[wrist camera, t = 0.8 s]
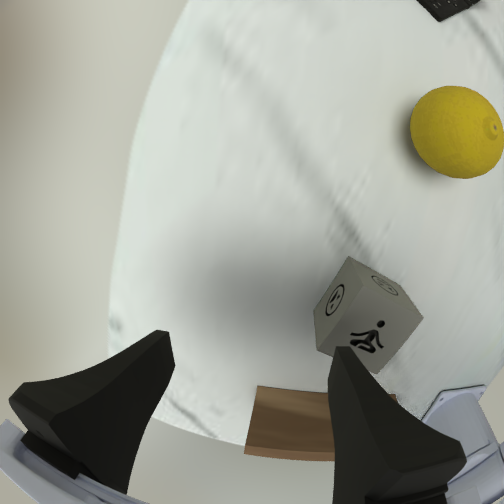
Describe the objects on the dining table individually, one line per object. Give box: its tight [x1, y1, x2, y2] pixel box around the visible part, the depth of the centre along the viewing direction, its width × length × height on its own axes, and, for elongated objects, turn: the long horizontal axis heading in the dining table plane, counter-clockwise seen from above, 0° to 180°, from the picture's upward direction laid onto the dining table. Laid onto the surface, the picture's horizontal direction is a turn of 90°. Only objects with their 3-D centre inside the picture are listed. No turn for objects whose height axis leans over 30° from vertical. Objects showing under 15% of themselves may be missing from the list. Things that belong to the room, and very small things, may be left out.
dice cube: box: [314, 256, 423, 374], centre depth 17 cm, size 5×5×5 cm
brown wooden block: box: [244, 386, 398, 461], centre depth 20 cm, size 2×14×7 cm, turn 84°
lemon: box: [410, 86, 504, 179], centre depth 11 cm, size 6×6×8 cm
